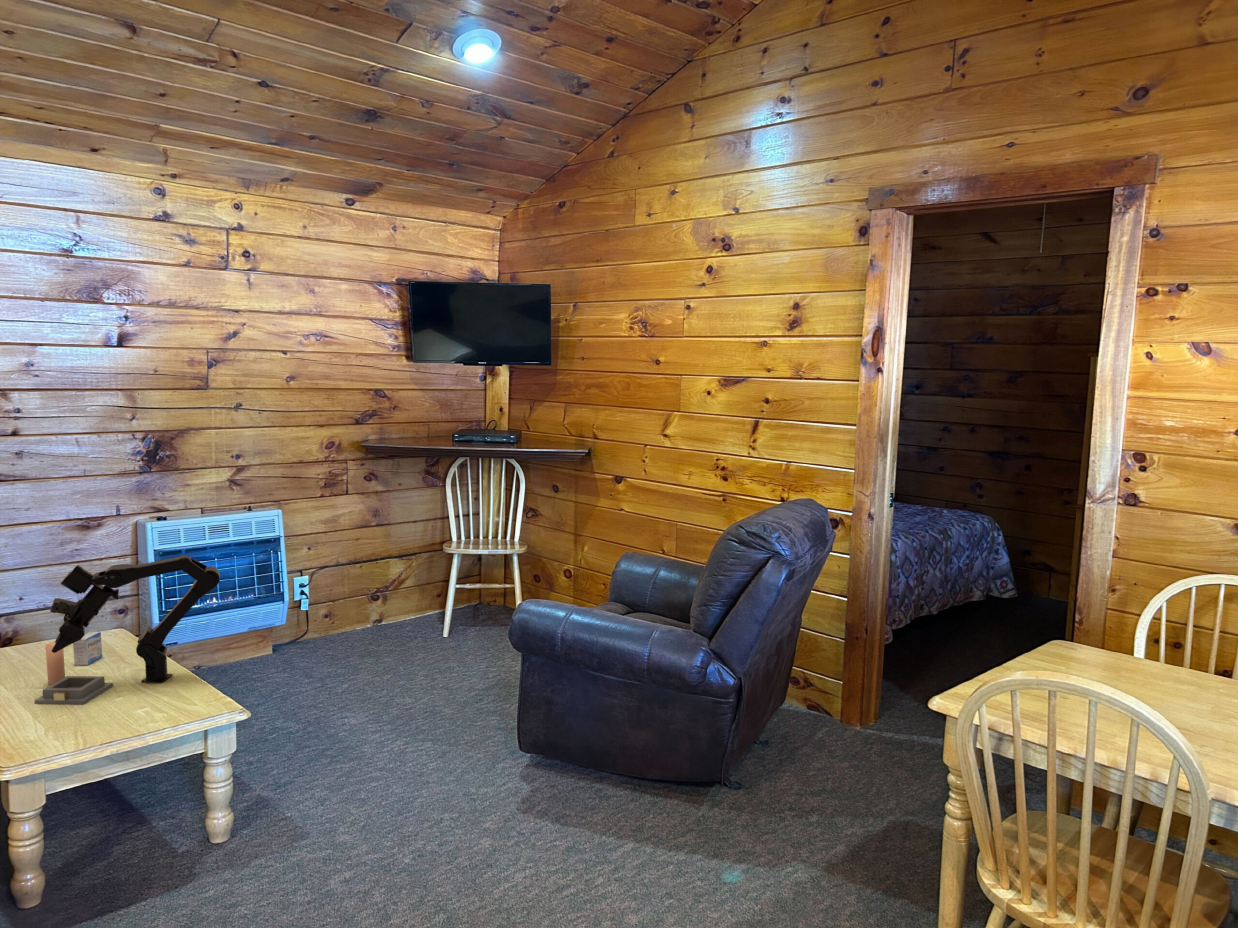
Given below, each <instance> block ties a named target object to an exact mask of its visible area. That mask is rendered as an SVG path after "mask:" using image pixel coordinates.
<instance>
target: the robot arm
mask: <svg viewBox="0 0 1238 928" xmlns="http://www.w3.org/2000/svg"><path fill="white" fill-rule="evenodd" d="M179 571H182V572H184V573H185V574H187V575H188V576H189V577H191V578H192V579H194V581H193V583H192V585H191V587H190V588H189V590H187V592H186V593H185V594H184V595H183V597H181V599H180V600H179V601H178V602H177V603H176V604H175V605H174V607H173V608H171V610H170V611H169V612H168V613H167V614H166V615H165V617H164V618H162V620H161V621H160V622H159V623H158V624H157V625H156V626H154V627H151V626H149V625H147V628H146V629H145V631H143V633H142V634H140V635H139V637H138V639H137V642H136V643H137V646H136V649H135V651H136V654H137V656H139V657H140V658H141V659H143V661H144V662H145V663H144V664H145V665H144V667H145V678H143V679H141V681H140V682H141V683H149V684H150V683H154V684H155V683H156V684H158V683H161V684H162V683H164V682H165V681H167V680H169V678H171V677H173V673H168V658H167V653H168V647H167V646H166V645H164V642H165V640H166V639H167V637H168V634H169V633H170V632H171V631H172V630H173V629H174V628H175V627H176V626H177V624H178V623H179V622H180V621H181V620H182V619H183V618H184V616H186V614H187V613H188V612H189V611H190V610H191V609H192V608H193V606H194V605H195V604H196V603H197V602H198V601H199V600H200V599H201V598H202V597H204V596H206V595H207V594H208V593H210V592H211V591H213V589H215V588H216V587H217V586H218V585H219V584H220V578H221V574H220V571H219V569H218V568H217V567H215V566H212V565H209V566H208V565H207V564H204V563H203V562H200V561H198V560H196V559H193V558H192V557H190V556H189V555H186V554H184V555H181V556H176V557H172V558H167V559H162V560H161V559H160V560H157V561H151V562H146V563H141V564H129V563H127V564H126V563H125V564H113V565H111V566H109V567H108V568H107V570H102V571H99V572H96V573H94V574H92V573H91V572H89V571H87V570H86V569H85V568H83V567H82V566H81V565H80V564H76V566H75V567H74V568H73V569H72V570H71V571H69V572H68V574H67V575H66V576H65V577H64V578H63V580H61V582H60V583H59V584H60V585H61V586H63V587H64V588H66V589H68V590H70V591H71V592H73V593H74V594H77V595H79V594H81V595H82V594H85V593H86V592H87V591H88V590H89V591H88V592H87V593H86V594H85V595H84V597H83V598H81V599H79V600H78V601H76V602H75V601H73V600H68V599H64V598H59V597H55V598H54V600H53V602H52V605H51V607H50V610H49V612H50V613H53V614H56V613H57V614H60V615H64V616H63V618H62V619H63V622H62V623H61V625H60V626H59V629H58V631H59V633H58V636H57V637H56V639H55V640H54V642H55V643H56V644H55V645H54V647H53V649H52V652H53V653H56V652H58V651H59V650H61V649H63V650H64V649H65V648H67V647H68V646H70V645H73V643H74V642H76V641H79V640H81V639H82V637H83V636H84V635H85V633H86V628H88V626H89V625H90V623H91V621H92V620H93V619H94V618H95V617H97V616H98V615H99V614H100V611H101V610H102V609H103V608H104V606H105V605H106V604H107V603H108V601H109V600H110V599H111V598H113V599H114V600H119V599H120V592H119V591H120V589H119V588H120V587H123V586H126V585H128V584H130V583H133V582H135V581H138V580H141V579H145V578H150V577H151V578H152V577H155V576H159V575H165V574H169V573H174V572H179ZM91 586H92V587H91ZM90 587H91V588H90ZM89 588H90V589H89Z"/></svg>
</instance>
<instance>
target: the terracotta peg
mask: <svg viewBox="0 0 1238 928" xmlns="http://www.w3.org/2000/svg"><path fill="white" fill-rule="evenodd" d="M55 644H56V643H55V641H52V642H49V643H46V644H45V656H46V657H45V659H46V672H47V673H46V674H47V685H48V686H50V685H52V684H54V683H56V682H57V681H59V680H61V679H63V678H64V677H66V669H65V667H66V666H65V654H64V652H65V651H64V648H63V649H61V650H59V651H58V652H56V653H53V652H52V649H53V647H54V645H55Z"/></svg>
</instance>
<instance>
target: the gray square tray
mask: <svg viewBox="0 0 1238 928" xmlns="http://www.w3.org/2000/svg"><path fill="white" fill-rule="evenodd" d="M112 687H114V683H113V682H106V681H105V676H102V675H101V676H97V675H94V676H91V675H88V676H87V675H86V676H85V675H82V676H79V675H78V676H77V675H65V677H64V678H63V679H61V680H59V681H57V682H56V683H54V684H52V685H48V686H47V687H45V688H43V689H42V696H39V697H37V698H35V699H34V701H33V702H34V704H35V705H86V704H87V703H89V702H90V701H92V700H93V699H95V698H96V697H98V696H100V695H101V694H102V693H104V692H106V691H108V690H109V689H111V688H112Z"/></svg>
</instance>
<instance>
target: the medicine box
mask: <svg viewBox="0 0 1238 928" xmlns="http://www.w3.org/2000/svg"><path fill="white" fill-rule="evenodd" d="M102 645H103V644H102V634H101V631H87V632H85V635H84V636H83V637H82V639H81V640H79V641H76V642H74V643H72V646H73V647H72V649H73V661H74V666H90V665H91V664H93V663H95V662H96V661H98V660H99V659H102V658H103V646H102Z"/></svg>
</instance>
